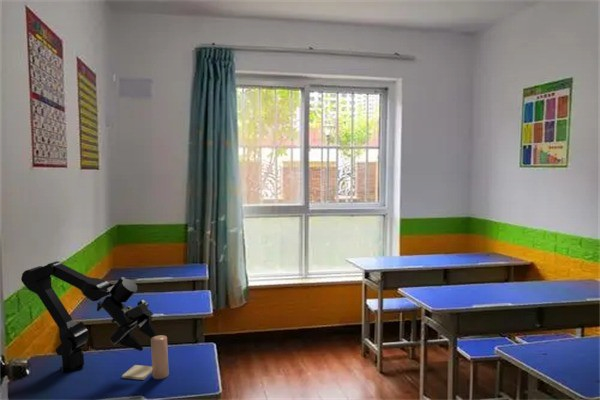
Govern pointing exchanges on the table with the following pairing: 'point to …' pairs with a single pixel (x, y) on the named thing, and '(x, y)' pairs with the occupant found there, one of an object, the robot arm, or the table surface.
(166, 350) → the tan rounded cylinder
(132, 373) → the coaster
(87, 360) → the table surface
